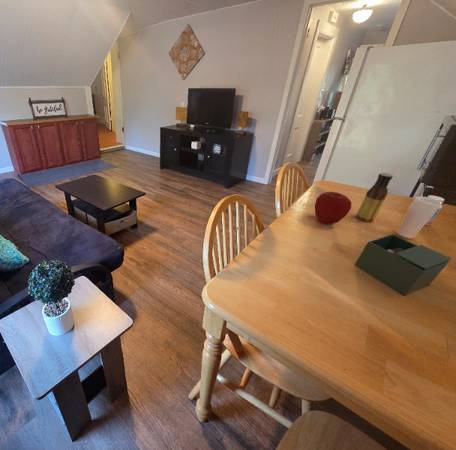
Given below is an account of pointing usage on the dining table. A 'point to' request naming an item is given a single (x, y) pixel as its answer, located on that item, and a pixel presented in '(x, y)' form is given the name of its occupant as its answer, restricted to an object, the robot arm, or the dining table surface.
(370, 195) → the sauce bottle
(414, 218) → the white coffee cup
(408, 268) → the bin
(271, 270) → the dining table surface
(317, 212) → the apple
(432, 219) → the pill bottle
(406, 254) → the flap
